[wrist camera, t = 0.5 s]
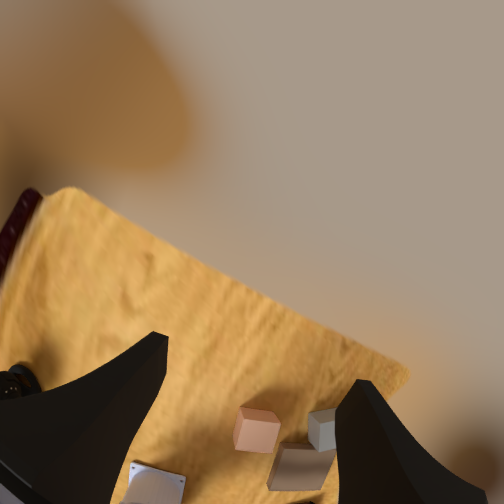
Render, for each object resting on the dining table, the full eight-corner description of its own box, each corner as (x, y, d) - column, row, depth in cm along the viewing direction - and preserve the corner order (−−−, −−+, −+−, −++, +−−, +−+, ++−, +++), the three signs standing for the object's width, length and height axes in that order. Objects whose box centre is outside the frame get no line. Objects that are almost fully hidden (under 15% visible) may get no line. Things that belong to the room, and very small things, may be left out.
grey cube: (336, 433, 32) (350, 444, 28) (307, 439, 31) (318, 452, 27) (337, 406, 33) (352, 416, 29) (308, 412, 32) (320, 423, 28)
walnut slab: (314, 482, 30) (320, 490, 27) (265, 482, 29) (269, 490, 27) (330, 442, 32) (337, 449, 29) (279, 441, 31) (283, 448, 29)
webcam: (39, 419, 25) (5, 439, 16) (7, 393, 25) (-29, 404, 15) (46, 380, 27) (7, 395, 18) (13, 354, 27) (-27, 359, 17)
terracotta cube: (264, 439, 31) (271, 453, 26) (232, 434, 30) (235, 449, 26) (272, 411, 32) (281, 423, 27) (239, 406, 31) (243, 418, 27)
